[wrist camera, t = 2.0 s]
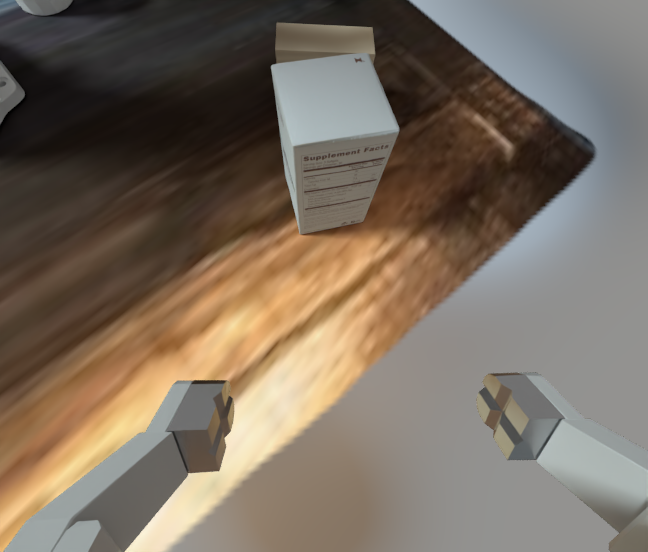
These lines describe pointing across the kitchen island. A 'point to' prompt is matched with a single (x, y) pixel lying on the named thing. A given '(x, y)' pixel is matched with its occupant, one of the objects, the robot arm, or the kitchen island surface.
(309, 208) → the supplement box
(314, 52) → the block
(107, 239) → the kitchen island surface
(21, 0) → the white cup
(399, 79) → the kitchen island surface
